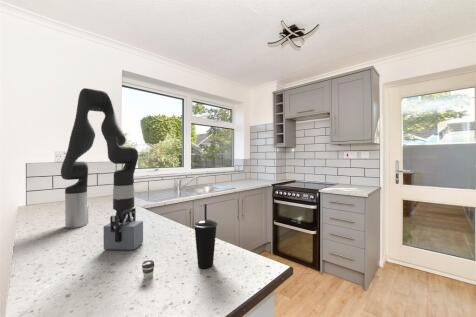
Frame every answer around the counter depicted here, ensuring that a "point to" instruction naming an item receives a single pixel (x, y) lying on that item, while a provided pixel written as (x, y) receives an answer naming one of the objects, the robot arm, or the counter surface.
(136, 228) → the matte grey box
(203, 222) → the drinking cup
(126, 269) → the counter surface
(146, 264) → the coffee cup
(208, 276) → the counter surface
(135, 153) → the robot arm
